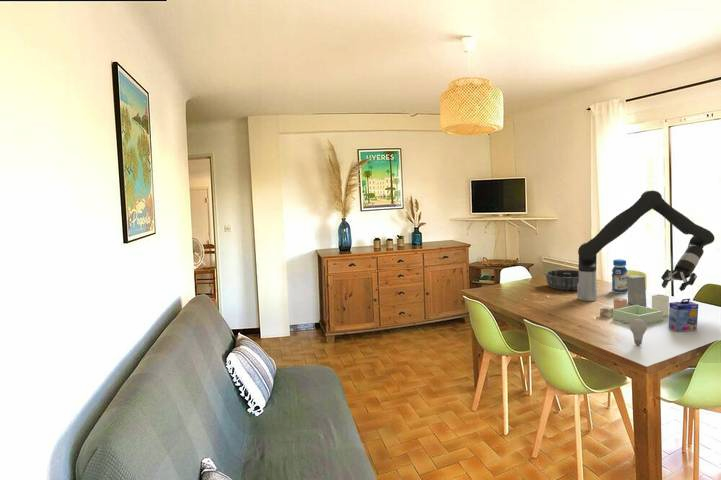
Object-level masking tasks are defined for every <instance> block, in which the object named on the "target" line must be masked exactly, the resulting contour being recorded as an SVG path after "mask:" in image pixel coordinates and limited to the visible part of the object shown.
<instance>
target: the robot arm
mask: <svg viewBox="0 0 721 480" xmlns="http://www.w3.org/2000/svg"><path fill="white" fill-rule="evenodd" d="M651 210H653V211H655V212H656V213H658V214H659V215H661V216H662V217H663V218H664V219H665V220H667V221H668V222H669V223H670V224H671V225H672V226H673V227H675V228H676V229H677V230H678V231H680V232H681V233H682V234H683V235H687V236H688V235H690V236H691V235H692V236H691V238H690V239H689V242H688V246H687V247H686V249H685V251H684V253H683V254H682V255H681V256H680V258H679V260H678V262H677V263H676V265H675V266H674V269H673V270H670V269H666V270H665V271H664V273H663V274H662V276H661V280H662V283H661V287H662V288H663V289H666V288H667V286H668V284H669V283H670V282H673V281H679V282H680V281H682V283H681V285H680V286H679V289H678V290H679V291H681V292H684V291H685V290H686V288H687V287H688V286H693V285H694V284H695V282H696V279H697V277H698V276H697V273H695V272H694V270H695V269H696V267H697V266H698V264H699V262H700V259H701V258H702V256H703V255H704V249H703V248H704V247H706V246H707V245H710V244H712V243H713V242H715V239H716V238H715V235H714V234H713V233H712V231H710V230H709V229H706V228H705V227H703V226H700V225H698V224H696V223H695V222H694V221H692V220H691V219H690V218H688V217H687V216H685V215H684V214H683V213H682V212H680V211H678V210H677V209H675V208H674V207H672V205H670V204H669V203H667V202H666V200H664V198H663V195H662V193H660V192H659V191H658V190H655V189H654V190H653V189H649V190H645V191H644V192H643V193H642V194H641V195H640V197H639V198H638V199H637V201H635V202H634V203H633V204H632V205H631V206H630V207H629V208H627V209H625V210H623V211H622V212H620V213H619V214H617V215H616V216H614V217H613V218H612V219H611V220H610V221H608V222H607V224H605V225H604V226H603V228H602V229H601V230H599V232H598V233H596V235H595V236H594V237H593V238H591V239H590V240H588V241H587V242H584V243H582V244H581V245H580V246H579V248H578V249H577V254H578V267H577V268H578V271H579V283H577V290H576V293H577V294H576V297H577V299H578V300H579V301H583V302H595V301H597V258H598V257H597V254H598V253H599V252H600V251H602V249H603V248H605V247H606V246H607V245H608V244H610V243H611V242H613V241H614V240H617V238H619V237H620V236H622V235H623V234H624V233H625V232H627V231H628V230H629V229H630V228H631V227H632V226H633V225H635V223H636V222H637V221H638V220H639V219H640V218H641V217H642V216H644V215H645V214H647V213H648V212H650V211H651ZM688 278H689V279H688Z"/></svg>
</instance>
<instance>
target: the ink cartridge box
mask: <svg viewBox="0 0 721 480" xmlns="http://www.w3.org/2000/svg"><path fill="white" fill-rule="evenodd" d="M698 314H699V303H696V302H692V301H691V298H682V300H681V301H674V302H669V316H668V329H670V330H672V331H674V332H677V333H679V332H680V333H681V332H693V331H696V332H697V330H698V316H699V315H698Z"/></svg>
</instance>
